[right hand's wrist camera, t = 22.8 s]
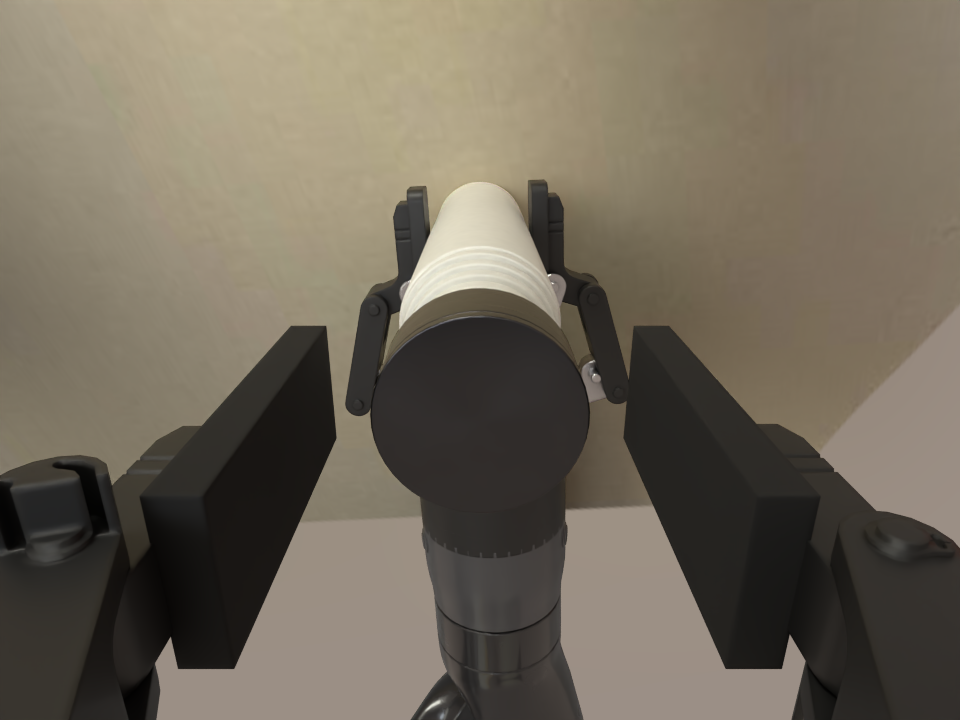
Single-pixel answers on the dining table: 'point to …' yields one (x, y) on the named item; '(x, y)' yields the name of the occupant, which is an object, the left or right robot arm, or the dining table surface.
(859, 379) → the dining table surface
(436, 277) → the bottle
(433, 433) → the cap
